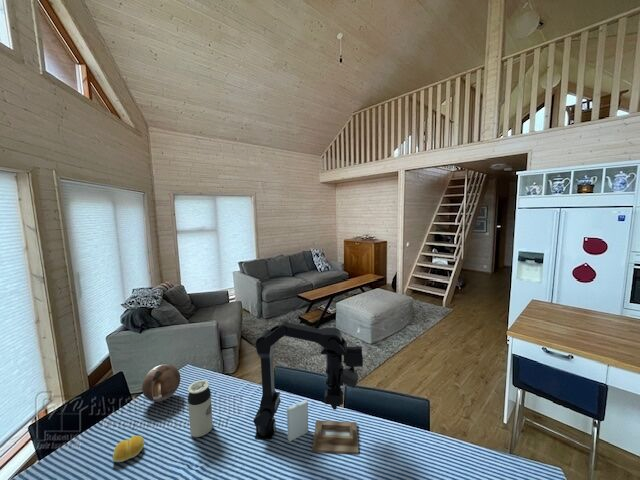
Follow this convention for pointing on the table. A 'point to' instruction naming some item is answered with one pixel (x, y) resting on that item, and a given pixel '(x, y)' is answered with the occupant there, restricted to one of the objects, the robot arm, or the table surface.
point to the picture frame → (335, 437)
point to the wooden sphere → (161, 382)
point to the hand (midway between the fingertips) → (334, 404)
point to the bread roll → (128, 448)
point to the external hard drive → (297, 420)
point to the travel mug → (200, 408)
